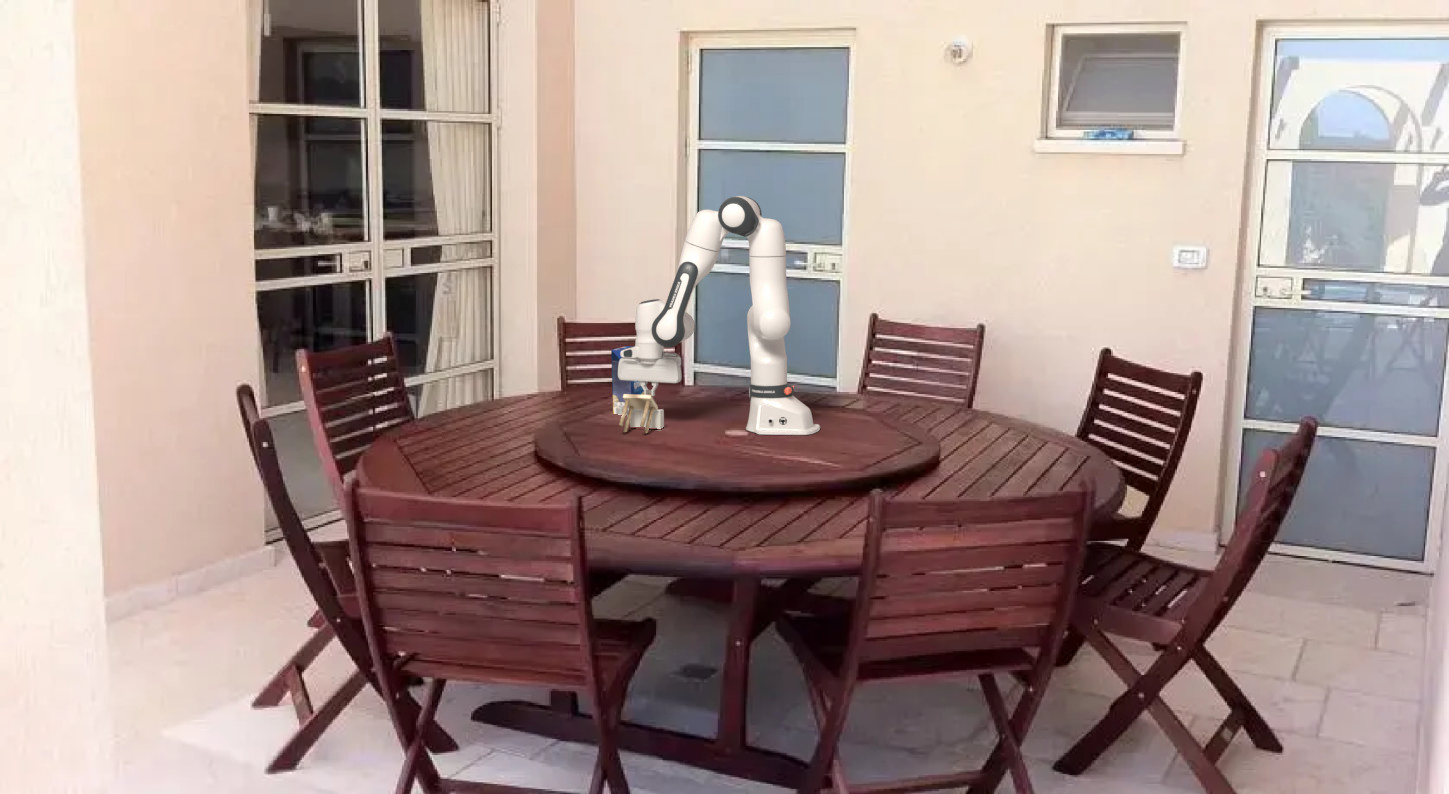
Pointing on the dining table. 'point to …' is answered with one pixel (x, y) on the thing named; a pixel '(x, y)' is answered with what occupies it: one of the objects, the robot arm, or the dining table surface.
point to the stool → (640, 404)
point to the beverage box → (622, 384)
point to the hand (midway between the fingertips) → (649, 396)
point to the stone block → (656, 419)
